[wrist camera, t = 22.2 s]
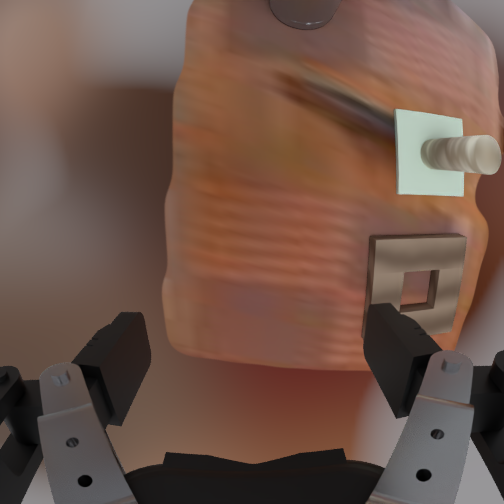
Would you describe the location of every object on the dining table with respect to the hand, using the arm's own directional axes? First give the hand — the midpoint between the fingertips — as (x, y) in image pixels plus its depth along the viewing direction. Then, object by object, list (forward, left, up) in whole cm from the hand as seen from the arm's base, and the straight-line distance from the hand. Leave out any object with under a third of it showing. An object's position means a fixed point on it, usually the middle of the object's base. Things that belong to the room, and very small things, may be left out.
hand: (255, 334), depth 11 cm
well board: (+12, +24, -32) cm, 42 cm away
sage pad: (-8, +26, -32) cm, 42 cm away
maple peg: (-8, +26, -31) cm, 41 cm away
